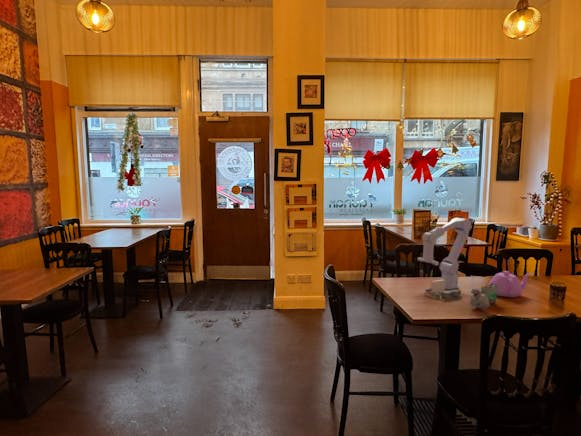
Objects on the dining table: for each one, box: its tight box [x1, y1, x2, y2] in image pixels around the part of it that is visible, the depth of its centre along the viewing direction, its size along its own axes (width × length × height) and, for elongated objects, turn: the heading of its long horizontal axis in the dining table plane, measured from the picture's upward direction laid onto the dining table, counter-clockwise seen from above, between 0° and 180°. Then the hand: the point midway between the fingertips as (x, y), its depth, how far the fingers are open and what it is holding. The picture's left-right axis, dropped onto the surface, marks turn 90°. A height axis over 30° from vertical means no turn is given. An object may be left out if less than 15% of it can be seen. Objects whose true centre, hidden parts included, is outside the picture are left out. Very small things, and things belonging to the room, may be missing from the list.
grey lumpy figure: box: [469, 288, 491, 310], centre depth 196 cm, size 10×10×12 cm
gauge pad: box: [425, 279, 445, 293], centre depth 223 cm, size 14×2×7 cm, turn 117°
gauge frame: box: [424, 288, 462, 302], centre depth 220 cm, size 16×14×4 cm
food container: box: [480, 283, 499, 306], centre depth 207 cm, size 12×6×10 cm, turn 129°
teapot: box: [488, 270, 532, 298], centre depth 223 cm, size 22×22×14 cm
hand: (427, 274), depth 231 cm, fingers open, 2 cm apart
